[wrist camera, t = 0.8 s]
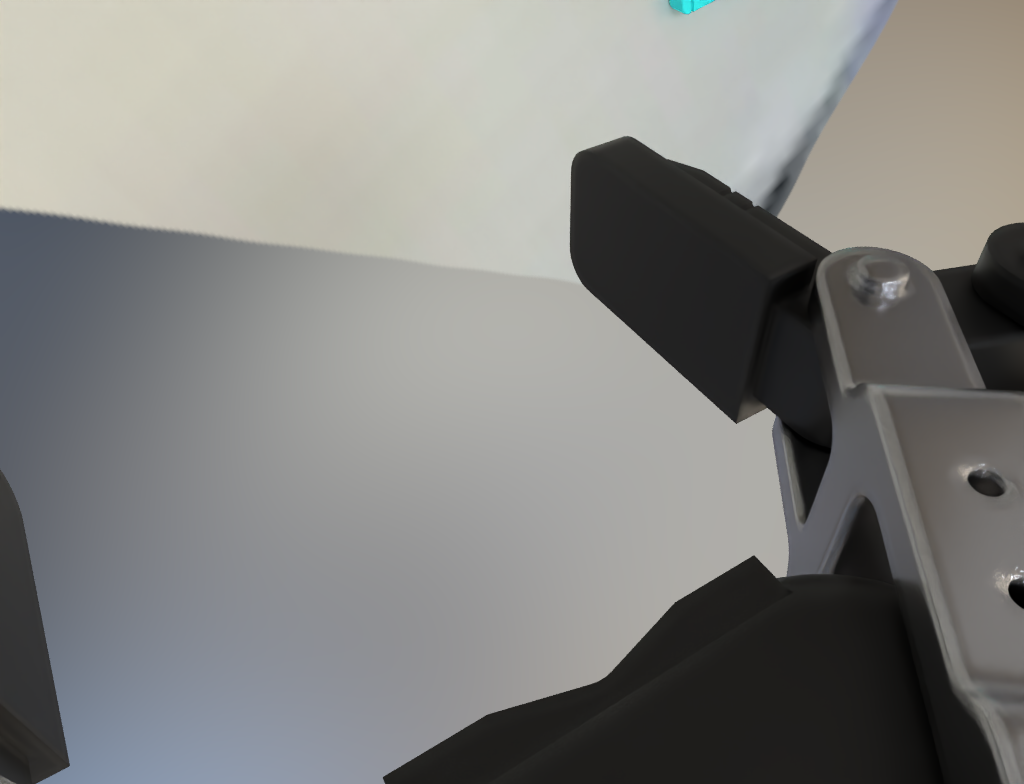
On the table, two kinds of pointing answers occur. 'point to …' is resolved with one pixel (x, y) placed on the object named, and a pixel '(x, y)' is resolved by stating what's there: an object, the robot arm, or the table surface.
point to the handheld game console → (688, 5)
